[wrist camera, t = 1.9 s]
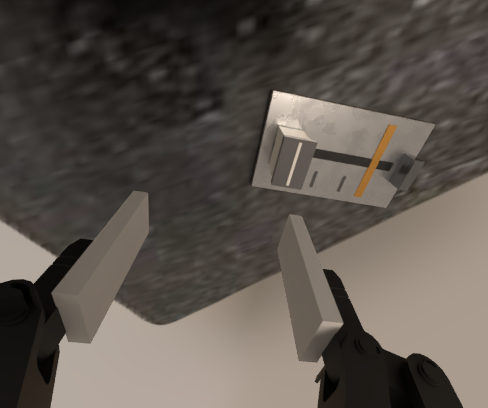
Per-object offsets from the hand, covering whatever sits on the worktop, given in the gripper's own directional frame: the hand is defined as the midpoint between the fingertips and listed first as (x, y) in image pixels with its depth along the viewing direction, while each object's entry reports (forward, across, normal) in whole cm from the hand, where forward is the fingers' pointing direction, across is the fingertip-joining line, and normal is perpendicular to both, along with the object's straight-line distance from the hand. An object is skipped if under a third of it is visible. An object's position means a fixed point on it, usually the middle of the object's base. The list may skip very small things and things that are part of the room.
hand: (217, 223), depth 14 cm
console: (+19, +14, 0) cm, 24 cm away
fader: (+17, +7, 0) cm, 19 cm away
